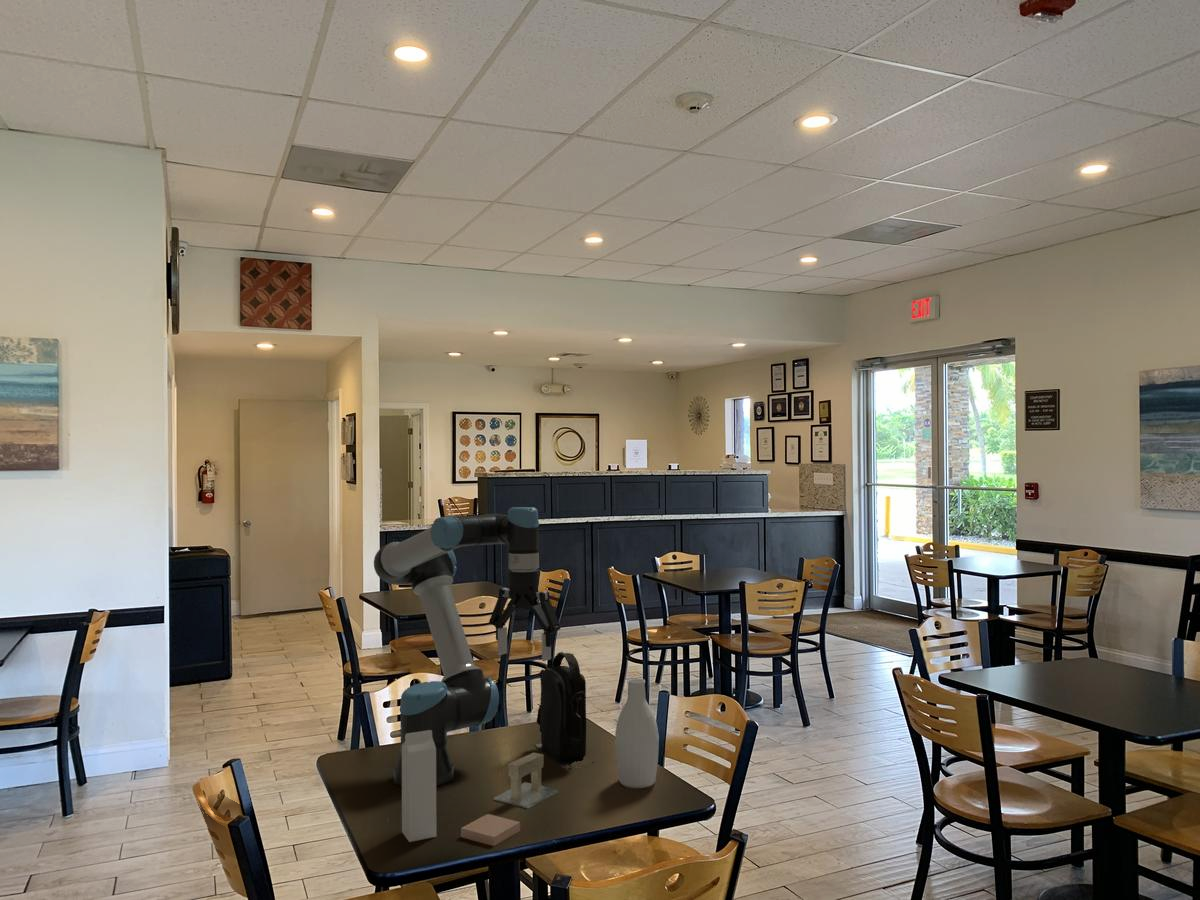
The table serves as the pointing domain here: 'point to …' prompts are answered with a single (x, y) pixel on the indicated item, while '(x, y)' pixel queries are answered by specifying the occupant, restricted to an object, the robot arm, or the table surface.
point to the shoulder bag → (563, 711)
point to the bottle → (636, 739)
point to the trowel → (526, 792)
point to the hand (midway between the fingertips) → (524, 657)
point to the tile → (490, 829)
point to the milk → (419, 786)
